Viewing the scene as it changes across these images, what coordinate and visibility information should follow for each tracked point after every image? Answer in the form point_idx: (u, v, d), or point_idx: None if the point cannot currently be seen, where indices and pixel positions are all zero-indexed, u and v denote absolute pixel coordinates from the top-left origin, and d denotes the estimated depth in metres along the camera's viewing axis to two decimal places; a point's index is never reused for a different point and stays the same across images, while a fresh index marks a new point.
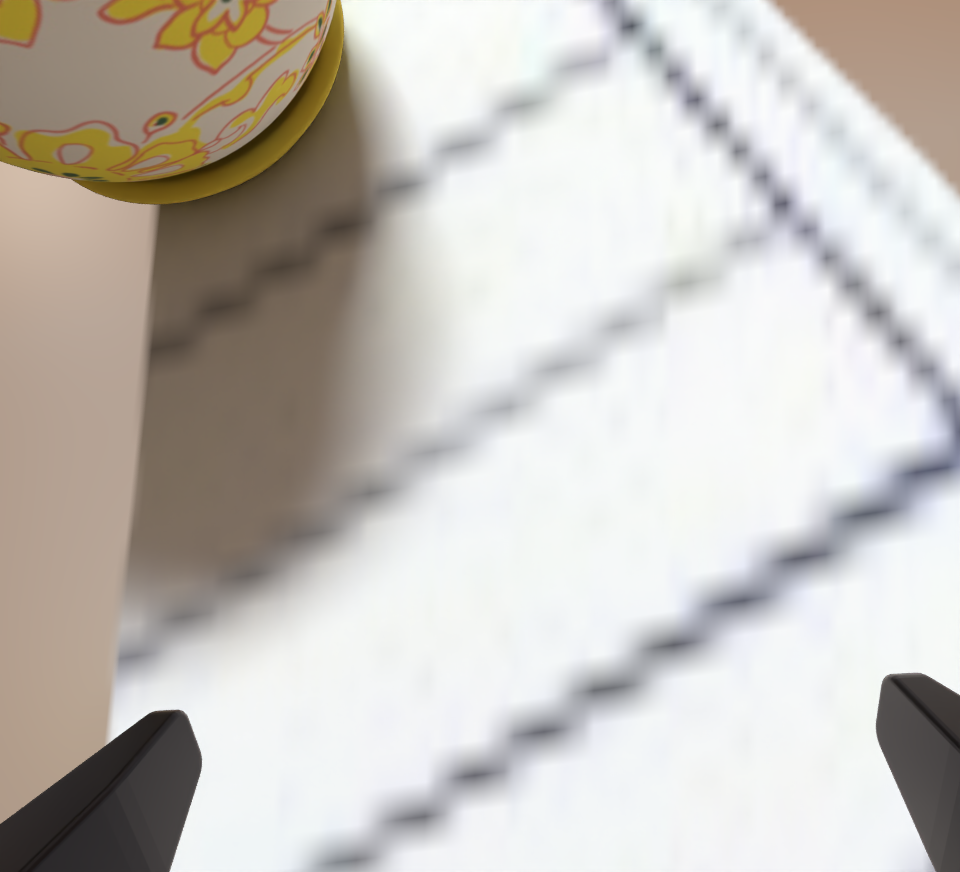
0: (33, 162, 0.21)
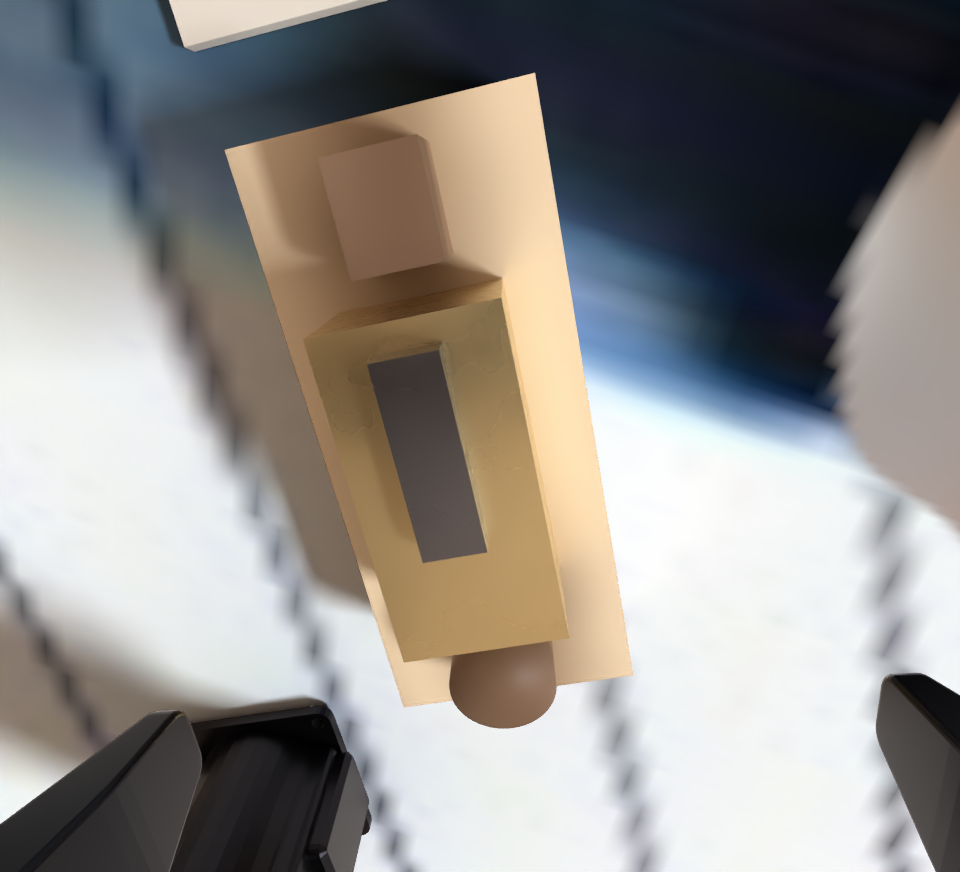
0: None
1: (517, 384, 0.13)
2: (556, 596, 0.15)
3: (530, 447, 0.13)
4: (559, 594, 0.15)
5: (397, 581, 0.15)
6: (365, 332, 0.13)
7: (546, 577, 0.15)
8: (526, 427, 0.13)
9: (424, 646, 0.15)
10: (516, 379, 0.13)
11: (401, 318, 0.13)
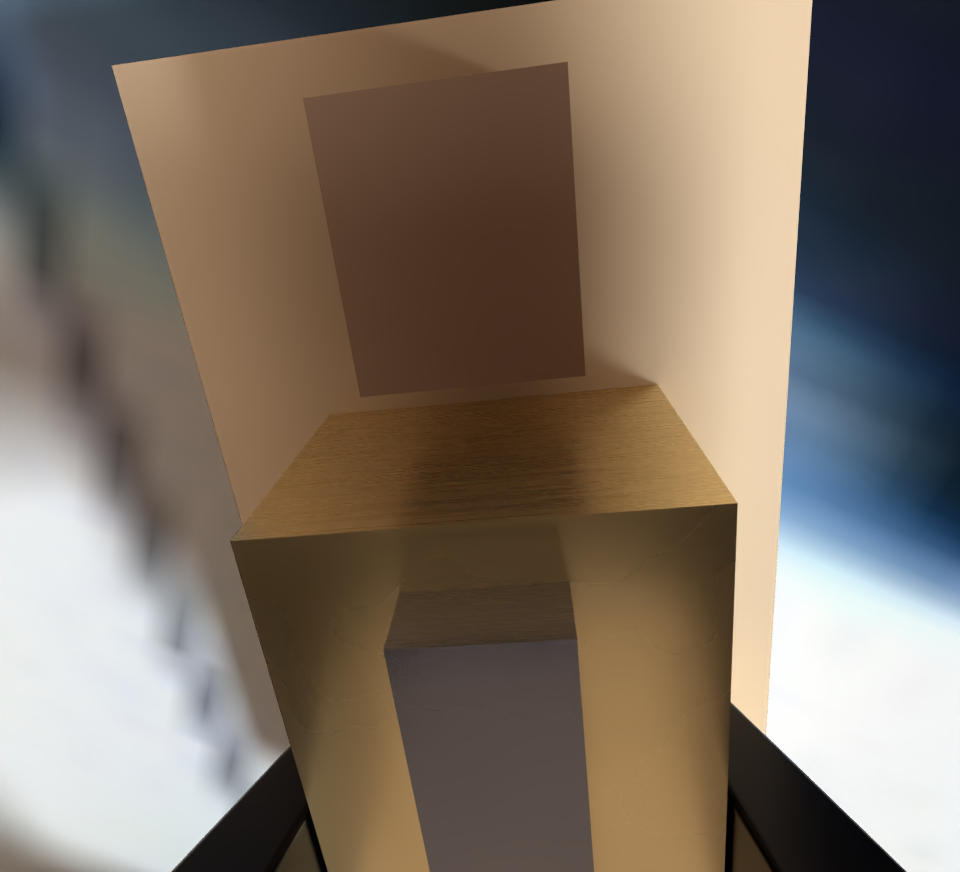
0: None
1: (728, 685, 0.06)
2: None
3: (724, 799, 0.06)
4: None
5: None
6: (384, 543, 0.05)
7: None
8: (724, 761, 0.06)
9: None
10: (729, 675, 0.05)
11: (477, 519, 0.05)
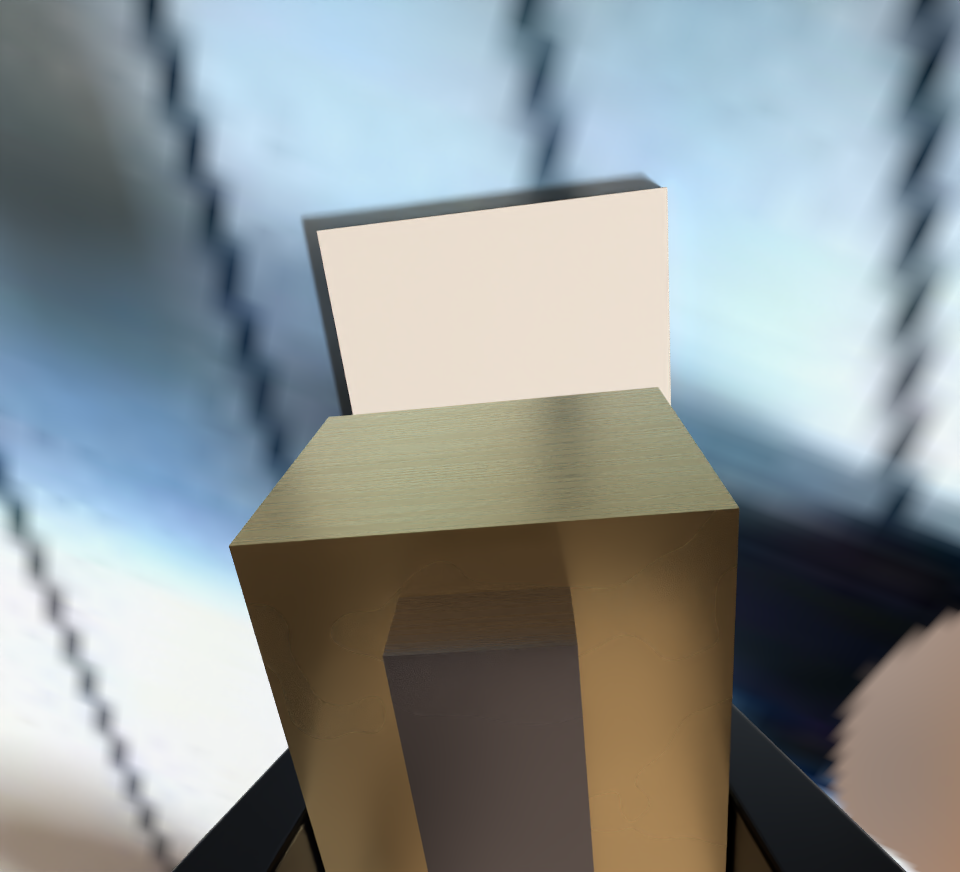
0: None
1: (730, 690, 0.05)
2: None
3: (725, 805, 0.06)
4: None
5: None
6: (384, 547, 0.05)
7: None
8: (725, 767, 0.06)
9: None
10: (730, 680, 0.05)
11: (476, 524, 0.05)
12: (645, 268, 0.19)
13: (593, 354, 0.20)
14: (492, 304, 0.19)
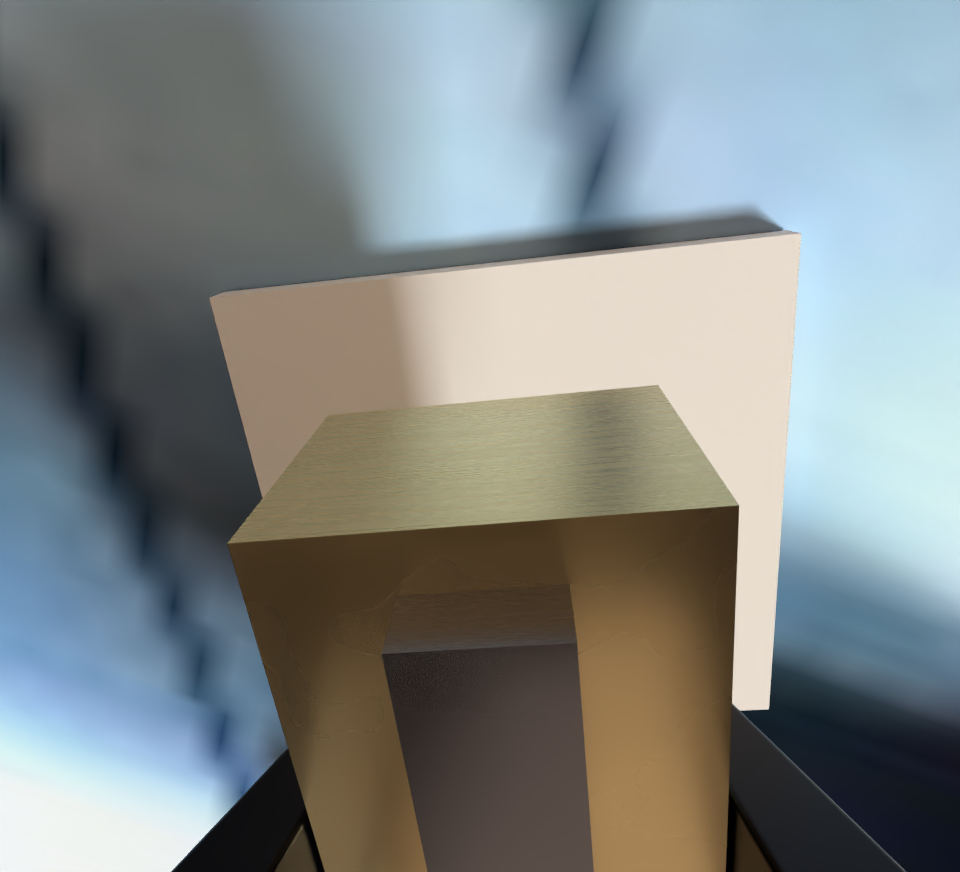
0: None
1: (729, 688, 0.05)
2: None
3: (725, 803, 0.06)
4: None
5: None
6: (382, 545, 0.05)
7: None
8: (725, 765, 0.06)
9: None
10: (730, 678, 0.05)
11: (475, 521, 0.05)
12: (753, 364, 0.11)
13: None
14: None
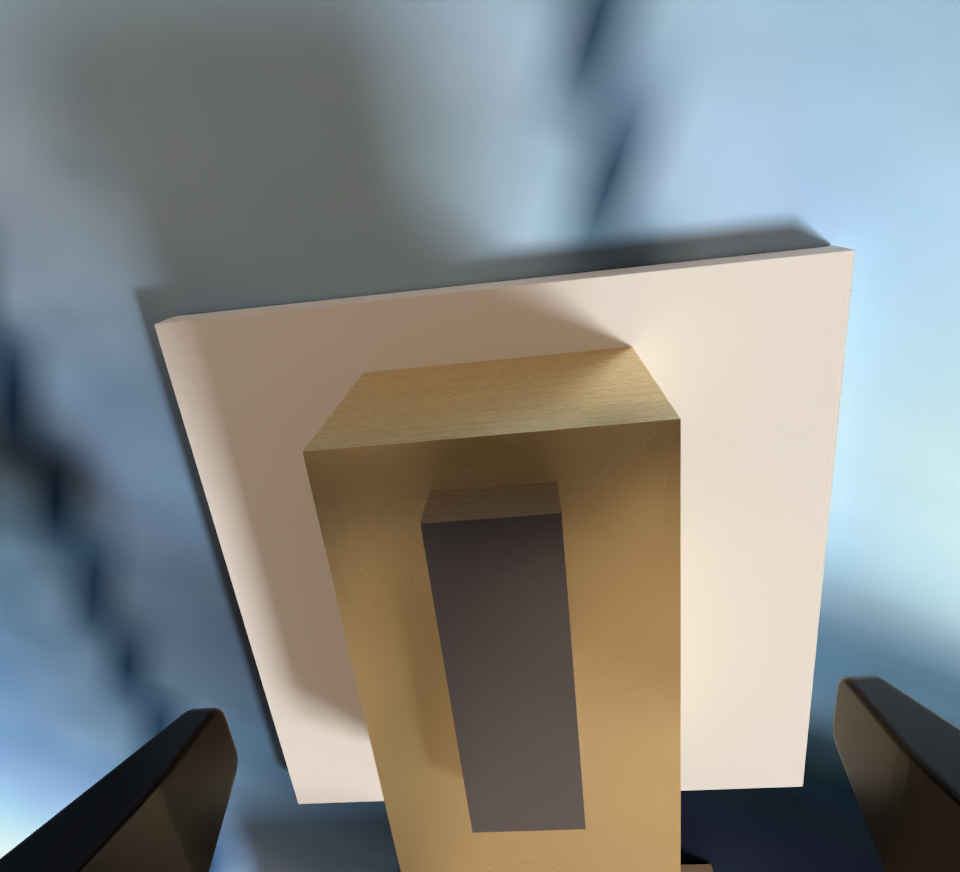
0: None
1: (678, 564, 0.07)
2: (673, 870, 0.09)
3: (678, 661, 0.08)
4: (678, 867, 0.09)
5: (420, 825, 0.09)
6: (418, 452, 0.07)
7: (662, 845, 0.09)
8: (677, 630, 0.08)
9: None
10: (678, 556, 0.07)
11: (488, 433, 0.07)
12: (794, 402, 0.10)
13: (682, 548, 0.11)
14: None
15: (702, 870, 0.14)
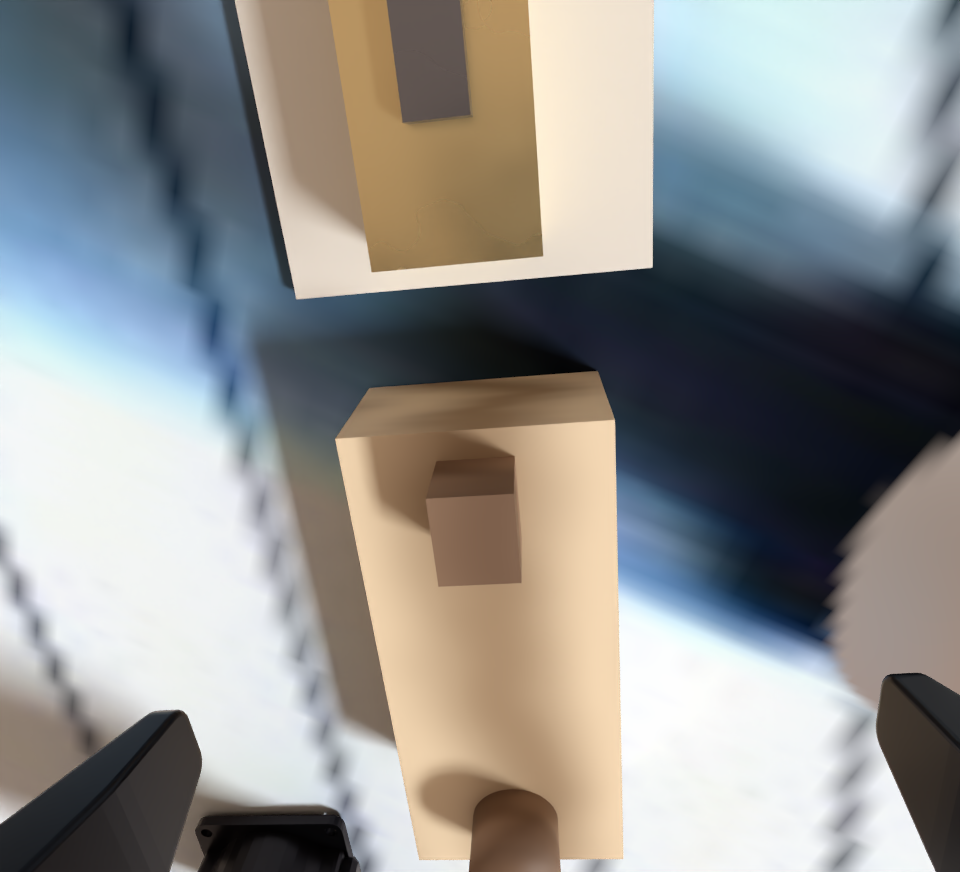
0: None
1: None
2: (535, 201, 0.14)
3: (527, 6, 0.13)
4: (538, 200, 0.14)
5: (374, 167, 0.14)
6: None
7: (527, 177, 0.14)
8: None
9: (394, 253, 0.15)
10: None
11: None
12: None
13: (557, 45, 0.16)
14: None
15: (590, 372, 0.19)
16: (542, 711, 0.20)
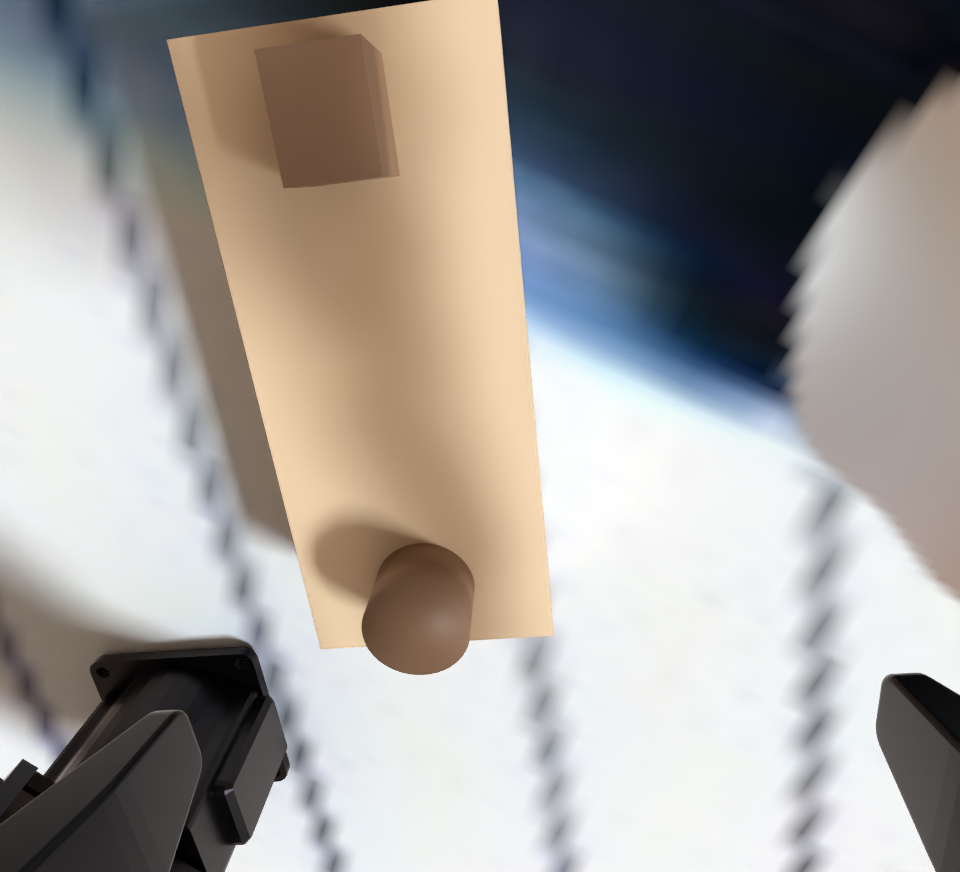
0: None
1: None
2: None
3: None
4: None
5: None
6: None
7: None
8: None
9: None
10: None
11: None
12: None
13: None
14: None
15: None
16: (444, 430, 0.17)
